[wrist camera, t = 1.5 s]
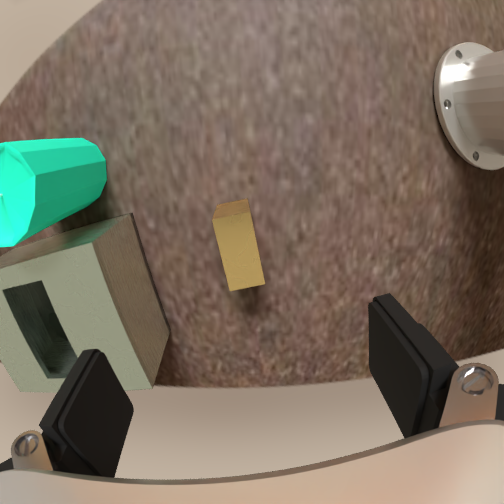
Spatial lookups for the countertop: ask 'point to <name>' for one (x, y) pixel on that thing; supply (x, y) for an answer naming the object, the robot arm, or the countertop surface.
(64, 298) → the coin box
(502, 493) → the robot arm
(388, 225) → the countertop surface
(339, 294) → the countertop surface
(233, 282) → the block
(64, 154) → the candle
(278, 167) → the countertop surface
